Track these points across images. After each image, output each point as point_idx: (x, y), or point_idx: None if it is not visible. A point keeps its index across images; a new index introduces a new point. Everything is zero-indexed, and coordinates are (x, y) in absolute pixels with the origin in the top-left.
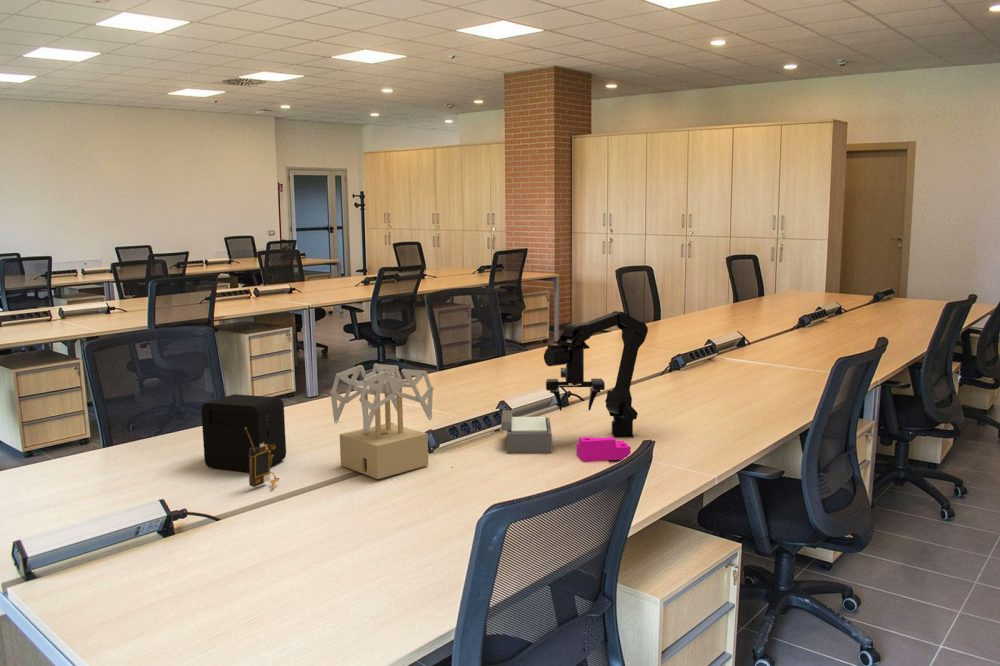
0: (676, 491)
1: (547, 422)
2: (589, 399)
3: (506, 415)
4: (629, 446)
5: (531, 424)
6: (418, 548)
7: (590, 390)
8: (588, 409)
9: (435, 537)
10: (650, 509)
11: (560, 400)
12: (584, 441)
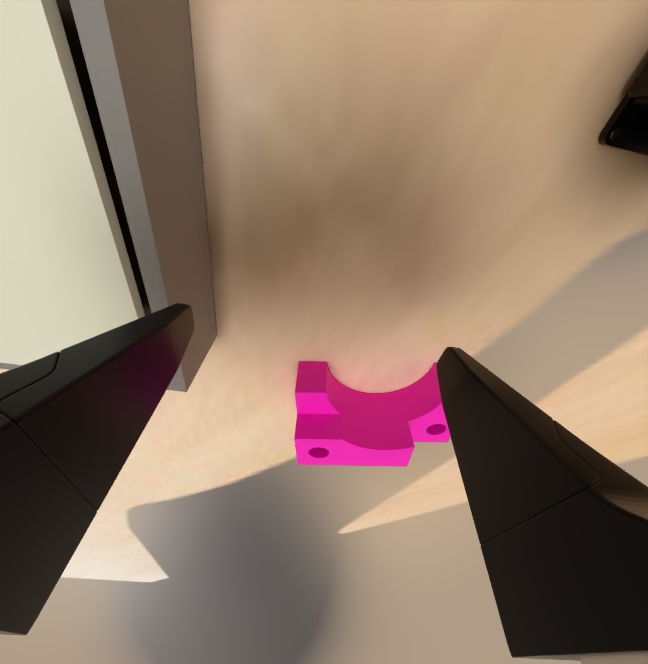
0: (407, 512)
1: (114, 157)
2: (495, 452)
3: None
4: (447, 439)
5: (15, 259)
6: (103, 545)
7: (626, 602)
8: (448, 350)
9: (109, 538)
10: (342, 532)
11: (129, 451)
12: (303, 464)
